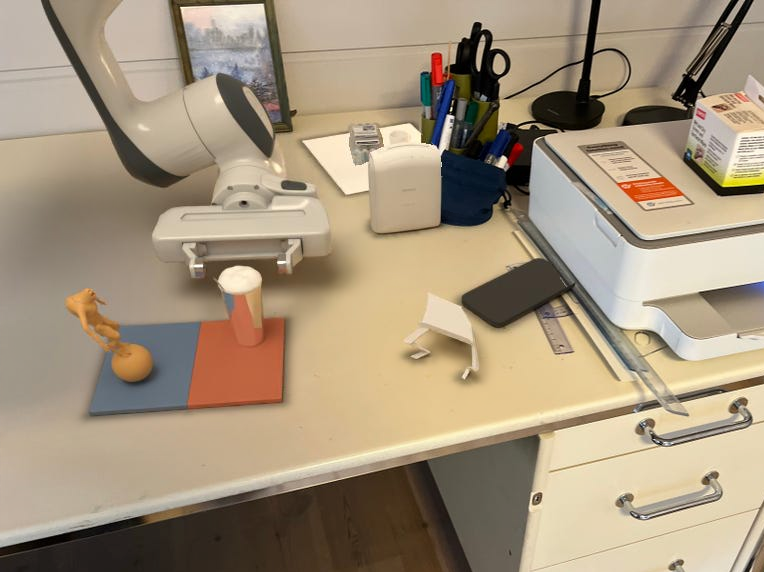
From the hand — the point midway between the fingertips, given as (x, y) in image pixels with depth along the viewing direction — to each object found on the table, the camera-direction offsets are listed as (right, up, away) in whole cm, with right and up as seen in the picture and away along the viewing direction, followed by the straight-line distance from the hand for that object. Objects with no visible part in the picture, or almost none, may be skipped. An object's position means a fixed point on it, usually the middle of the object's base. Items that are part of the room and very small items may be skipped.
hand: (241, 271), depth 84 cm
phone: (+32, -2, +13) cm, 34 cm away
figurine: (-11, -12, -4) cm, 17 cm away
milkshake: (0, -8, +2) cm, 8 cm away
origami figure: (+23, -10, +3) cm, 25 cm away
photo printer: (+16, +9, +24) cm, 31 cm away
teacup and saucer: (+10, +24, +40) cm, 48 cm away
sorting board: (-5, -11, -1) cm, 12 cm away
